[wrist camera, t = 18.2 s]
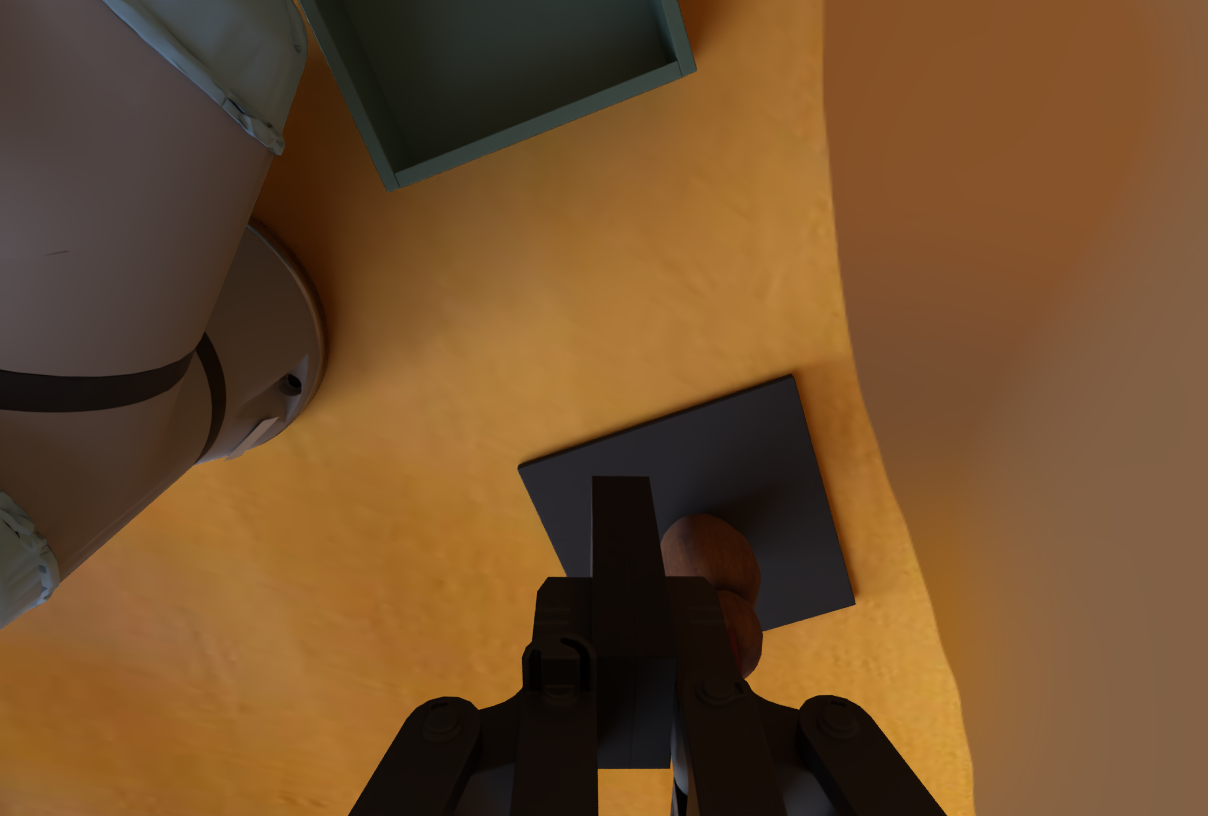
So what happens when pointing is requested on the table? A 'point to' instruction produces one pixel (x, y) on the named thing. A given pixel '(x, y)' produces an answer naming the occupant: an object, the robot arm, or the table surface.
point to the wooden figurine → (720, 577)
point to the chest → (487, 70)
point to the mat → (714, 492)
